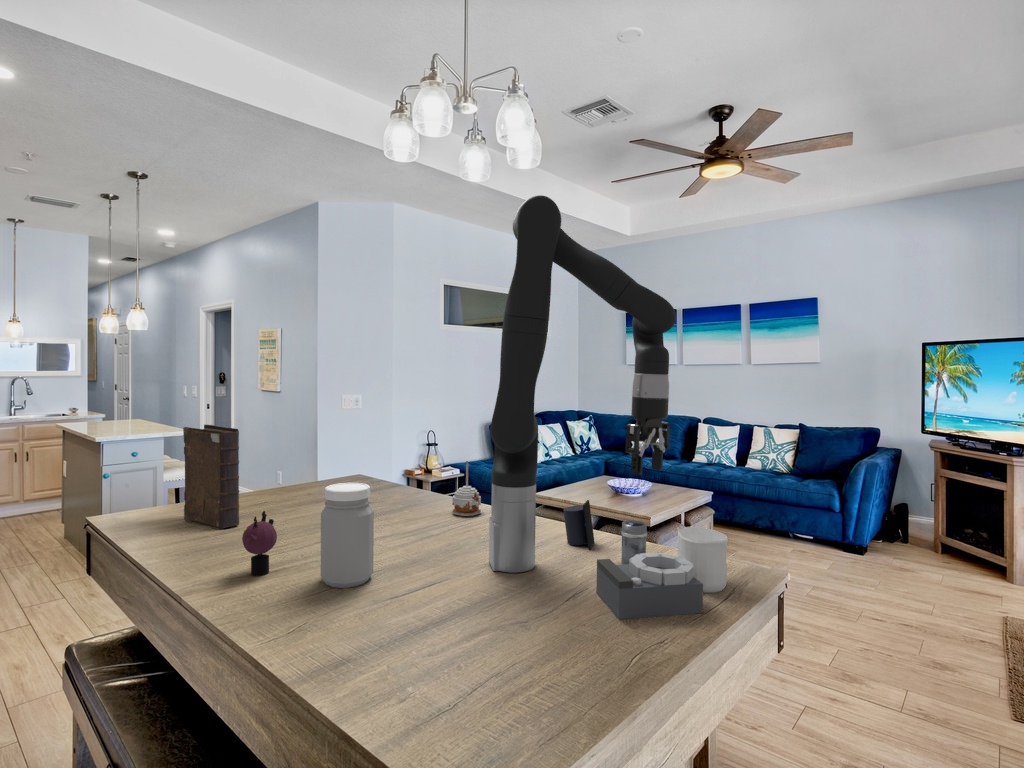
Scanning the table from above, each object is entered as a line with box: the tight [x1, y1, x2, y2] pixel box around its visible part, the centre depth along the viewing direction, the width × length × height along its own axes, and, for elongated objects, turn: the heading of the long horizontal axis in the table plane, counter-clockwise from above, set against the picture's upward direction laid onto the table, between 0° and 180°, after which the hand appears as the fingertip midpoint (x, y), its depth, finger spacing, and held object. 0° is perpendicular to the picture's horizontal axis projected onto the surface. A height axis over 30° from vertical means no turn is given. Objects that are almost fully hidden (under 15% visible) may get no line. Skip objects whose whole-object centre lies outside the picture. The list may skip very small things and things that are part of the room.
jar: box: [320, 482, 375, 589], centre depth 108 cm, size 10×10×18 cm
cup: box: [676, 526, 729, 594], centre depth 109 cm, size 10×10×10 cm
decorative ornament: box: [452, 460, 482, 517], centre depth 159 cm, size 8×8×15 cm
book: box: [182, 424, 240, 530], centre depth 146 cm, size 17×7×25 cm, turn 54°
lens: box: [620, 519, 648, 565], centre depth 118 cm, size 5×5×9 cm
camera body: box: [595, 552, 704, 620], centre depth 100 cm, size 15×11×7 cm
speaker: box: [563, 499, 596, 551], centre depth 133 cm, size 8×6×10 cm
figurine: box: [241, 510, 278, 577], centre depth 111 cm, size 8×8×12 cm
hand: (646, 471), depth 120 cm, fingers open, 8 cm apart
